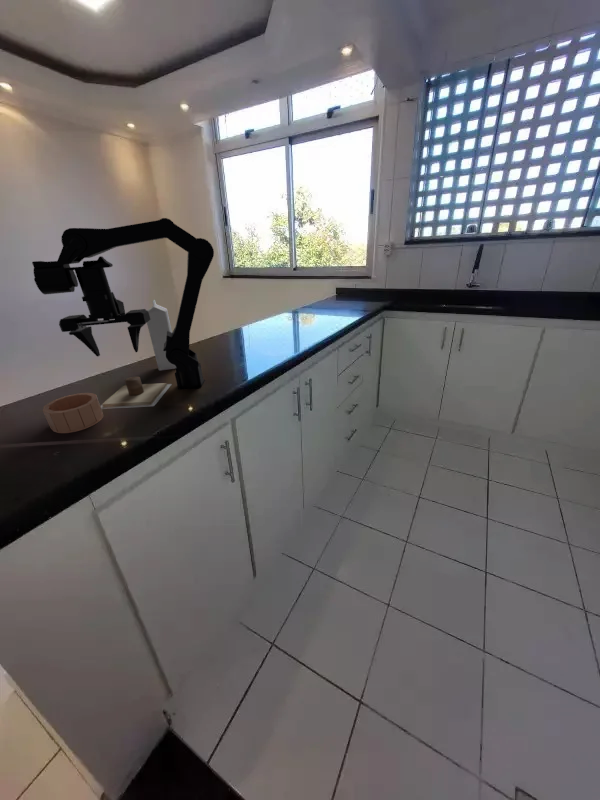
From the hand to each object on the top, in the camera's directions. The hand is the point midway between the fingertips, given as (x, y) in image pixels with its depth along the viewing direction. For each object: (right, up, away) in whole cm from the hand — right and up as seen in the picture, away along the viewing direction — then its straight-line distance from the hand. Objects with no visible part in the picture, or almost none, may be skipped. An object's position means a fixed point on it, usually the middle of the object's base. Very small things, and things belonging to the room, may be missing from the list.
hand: (117, 353), depth 79 cm
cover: (+3, -11, +4) cm, 12 cm away
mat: (+3, -11, +4) cm, 12 cm away
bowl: (-4, -17, -8) cm, 19 cm away
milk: (+3, -1, +25) cm, 25 cm away
